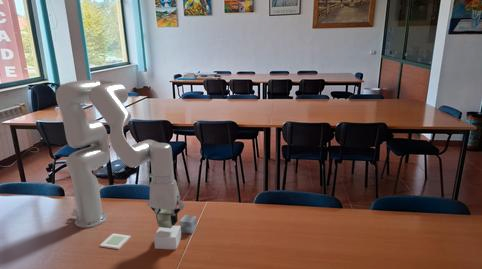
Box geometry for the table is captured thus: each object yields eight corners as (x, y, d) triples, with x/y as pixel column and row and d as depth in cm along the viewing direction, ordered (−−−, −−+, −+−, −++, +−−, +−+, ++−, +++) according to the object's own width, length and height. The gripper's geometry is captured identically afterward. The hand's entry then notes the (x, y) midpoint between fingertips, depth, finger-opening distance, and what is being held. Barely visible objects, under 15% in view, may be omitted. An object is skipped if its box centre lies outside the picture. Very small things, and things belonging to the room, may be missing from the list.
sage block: (158, 227, 120) (156, 214, 119) (164, 220, 125) (163, 208, 124) (170, 228, 119) (169, 215, 118) (176, 221, 124) (175, 209, 123)
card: (100, 246, 122) (99, 244, 122) (112, 234, 130) (112, 233, 130) (118, 249, 121) (118, 247, 120) (130, 237, 128) (130, 235, 128)
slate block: (180, 232, 131) (179, 221, 130) (185, 225, 136) (184, 214, 134) (192, 233, 130) (191, 222, 128) (196, 227, 134) (196, 216, 133)
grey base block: (155, 249, 121) (153, 237, 119) (161, 236, 128) (160, 225, 127) (176, 249, 120) (175, 237, 119) (181, 237, 128) (180, 225, 127)
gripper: (136, 179, 116) (141, 225, 121) (181, 183, 112) (184, 230, 117) (147, 172, 123) (151, 215, 128) (189, 175, 119) (192, 220, 124)
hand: (167, 222), depth 122 cm, fingers closed on sage block, 5 cm apart
